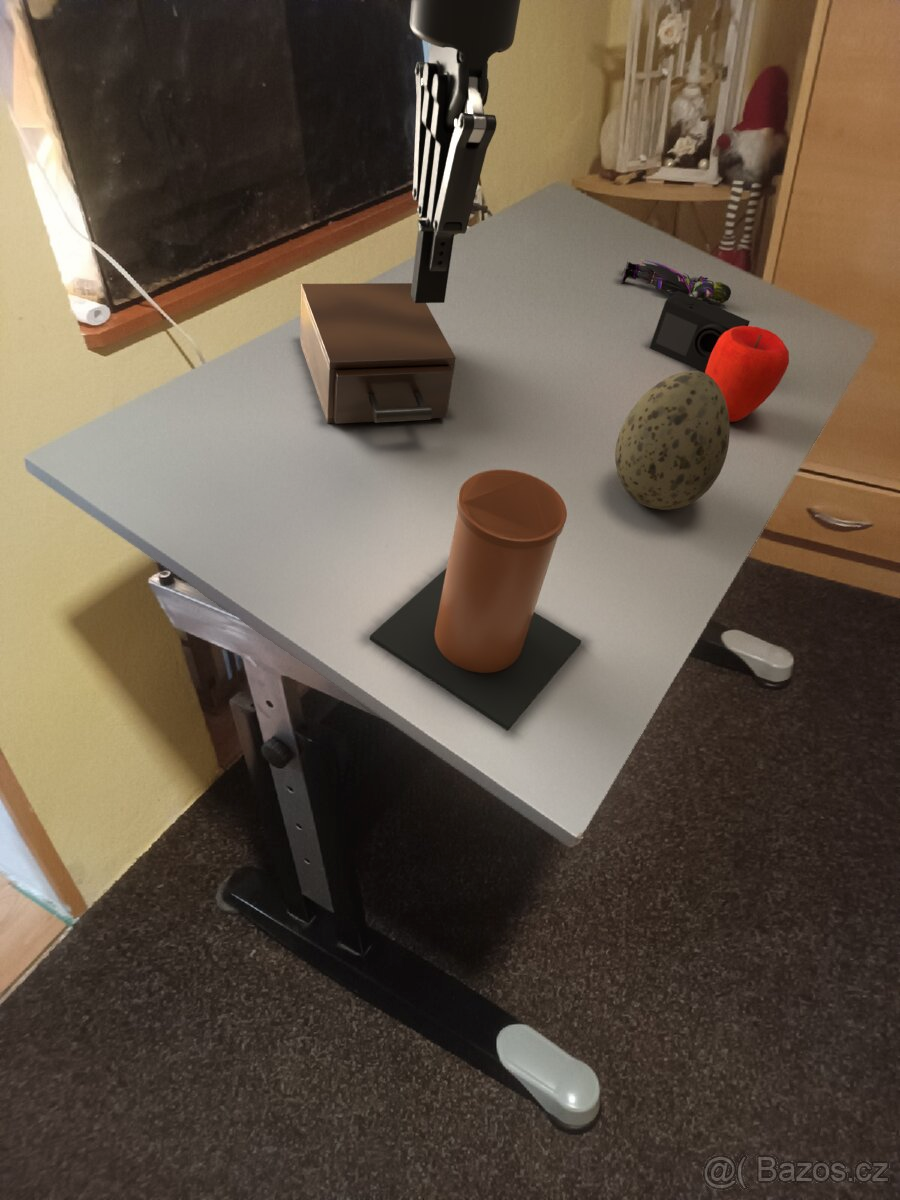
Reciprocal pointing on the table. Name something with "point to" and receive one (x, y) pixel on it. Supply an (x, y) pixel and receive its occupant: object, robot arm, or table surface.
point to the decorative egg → (674, 441)
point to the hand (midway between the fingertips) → (427, 298)
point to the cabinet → (366, 332)
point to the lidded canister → (496, 567)
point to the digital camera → (691, 329)
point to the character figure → (677, 281)
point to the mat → (485, 692)
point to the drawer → (391, 393)
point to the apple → (747, 367)
